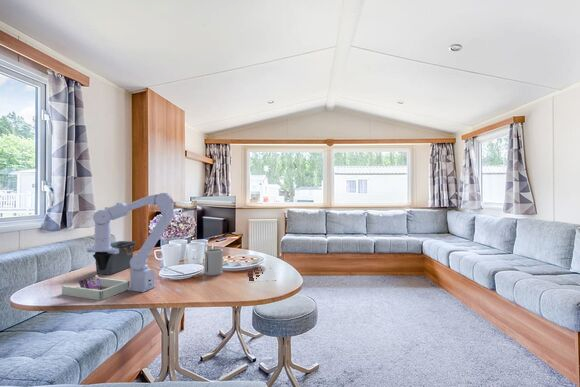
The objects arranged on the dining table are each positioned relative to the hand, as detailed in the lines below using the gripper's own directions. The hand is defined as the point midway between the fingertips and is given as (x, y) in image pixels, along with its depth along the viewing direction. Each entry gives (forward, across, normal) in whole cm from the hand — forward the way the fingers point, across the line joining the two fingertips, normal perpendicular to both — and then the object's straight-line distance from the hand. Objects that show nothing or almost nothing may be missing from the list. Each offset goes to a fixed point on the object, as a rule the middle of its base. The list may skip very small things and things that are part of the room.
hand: (102, 269), depth 128 cm
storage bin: (+10, +20, -30) cm, 37 cm away
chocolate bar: (+10, -58, -41) cm, 72 cm away
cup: (+10, -33, -37) cm, 51 cm away
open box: (+9, +2, +1) cm, 10 cm away
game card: (+10, +5, +2) cm, 11 cm away
